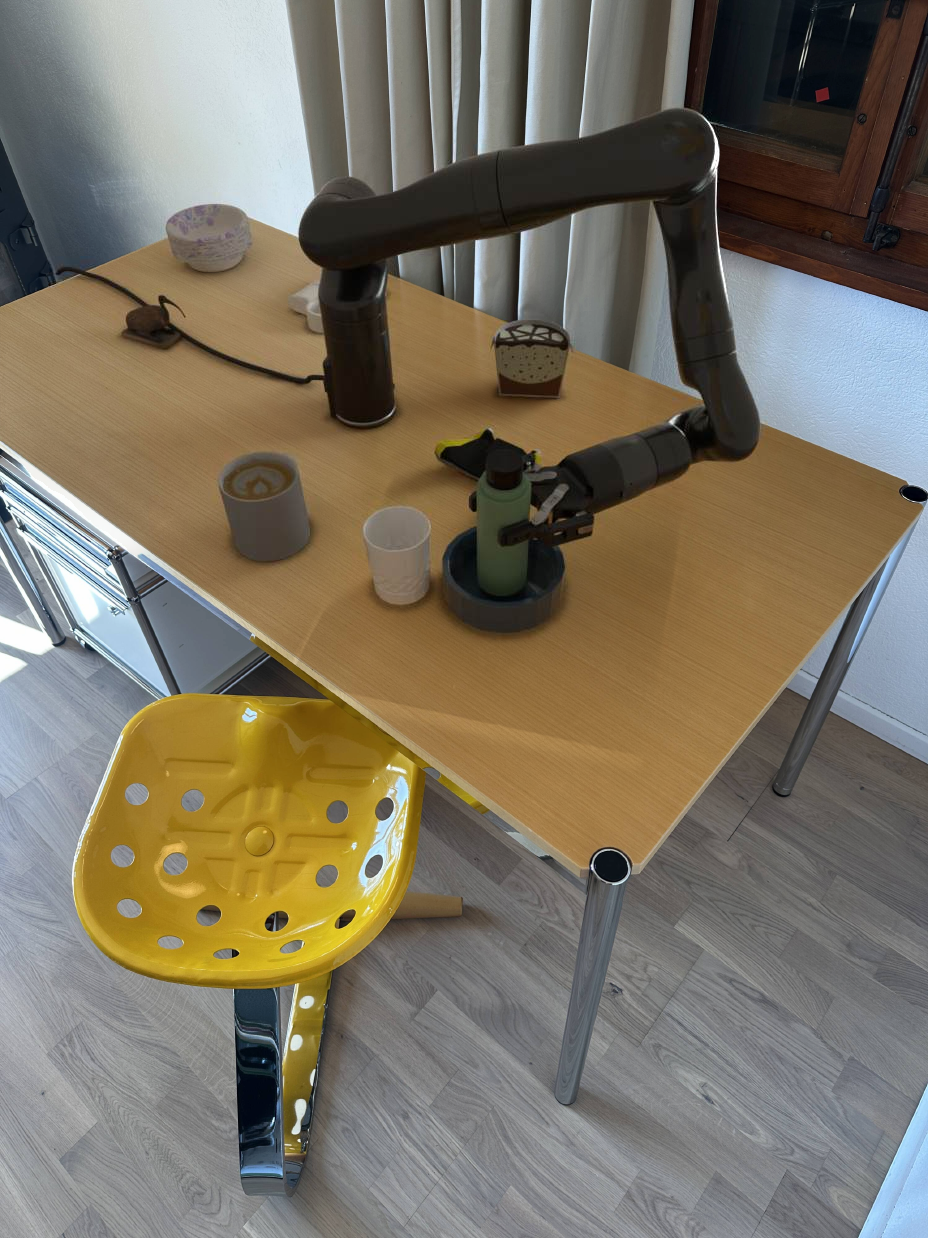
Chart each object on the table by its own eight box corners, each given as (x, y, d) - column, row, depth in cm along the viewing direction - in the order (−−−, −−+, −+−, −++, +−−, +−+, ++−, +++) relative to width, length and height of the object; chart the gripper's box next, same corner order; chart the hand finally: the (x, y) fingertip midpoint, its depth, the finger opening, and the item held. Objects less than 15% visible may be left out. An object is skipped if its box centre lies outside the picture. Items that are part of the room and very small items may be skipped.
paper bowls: (220, 287, 161) (209, 244, 155) (159, 268, 166) (147, 227, 160) (272, 253, 170) (264, 212, 164) (212, 237, 175) (203, 196, 169)
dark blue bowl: (429, 622, 104) (427, 593, 101) (461, 542, 114) (460, 513, 110) (548, 646, 102) (551, 617, 98) (571, 561, 111) (575, 532, 107)
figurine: (202, 343, 148) (190, 294, 142) (185, 355, 145) (171, 307, 139) (139, 324, 152) (124, 276, 146) (122, 336, 150) (105, 288, 143)
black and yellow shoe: (515, 518, 117) (557, 480, 122) (516, 486, 112) (560, 448, 118) (429, 476, 123) (472, 441, 128) (427, 444, 119) (472, 410, 124)
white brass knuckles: (342, 276, 163) (404, 297, 157) (276, 317, 153) (340, 341, 148) (340, 258, 161) (403, 279, 155) (273, 299, 151) (338, 323, 145)
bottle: (471, 591, 105) (469, 473, 91) (484, 557, 109) (484, 439, 95) (520, 600, 104) (525, 482, 90) (531, 566, 107) (538, 447, 94)
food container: (569, 376, 139) (574, 318, 132) (569, 398, 135) (574, 339, 128) (492, 373, 140) (493, 315, 133) (489, 394, 136) (490, 336, 129)
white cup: (370, 567, 111) (362, 507, 103) (432, 563, 111) (428, 503, 104) (371, 613, 105) (362, 553, 98) (436, 608, 106) (432, 548, 98)
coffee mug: (281, 571, 111) (266, 510, 103) (219, 546, 114) (200, 486, 106) (339, 509, 118) (329, 449, 111) (279, 488, 122) (266, 428, 114)
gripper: (577, 416, 104) (453, 459, 99) (649, 483, 96) (518, 534, 91) (572, 466, 110) (454, 509, 105) (640, 534, 101) (516, 585, 96)
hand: (484, 521), depth 98 cm, fingers closed on bottle, 6 cm apart
